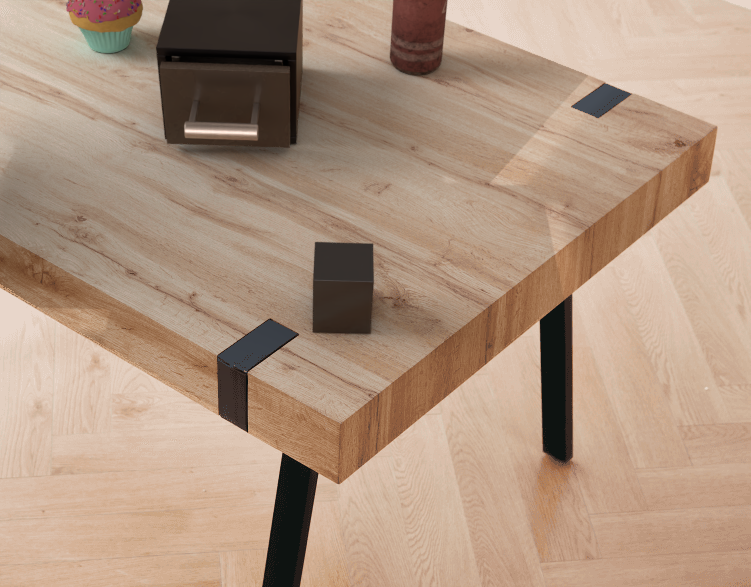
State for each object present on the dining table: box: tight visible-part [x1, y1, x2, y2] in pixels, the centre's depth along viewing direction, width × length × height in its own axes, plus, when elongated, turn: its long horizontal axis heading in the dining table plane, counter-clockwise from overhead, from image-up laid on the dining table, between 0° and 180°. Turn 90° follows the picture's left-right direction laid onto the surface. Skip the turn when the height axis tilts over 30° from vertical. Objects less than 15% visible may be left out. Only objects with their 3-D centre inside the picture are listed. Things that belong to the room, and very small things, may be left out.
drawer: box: [160, 56, 291, 149], centre depth 111 cm, size 20×13×9 cm, turn 1°
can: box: [389, 0, 448, 76], centre depth 122 cm, size 6×6×14 cm
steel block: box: [311, 241, 375, 335], centre depth 92 cm, size 5×5×6 cm
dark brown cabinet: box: [155, 0, 304, 145], centre depth 115 cm, size 16×14×11 cm
